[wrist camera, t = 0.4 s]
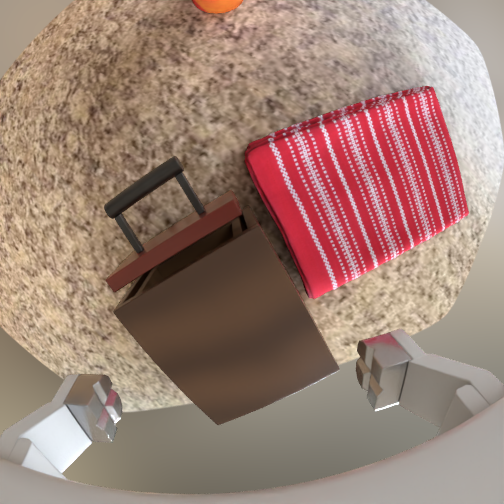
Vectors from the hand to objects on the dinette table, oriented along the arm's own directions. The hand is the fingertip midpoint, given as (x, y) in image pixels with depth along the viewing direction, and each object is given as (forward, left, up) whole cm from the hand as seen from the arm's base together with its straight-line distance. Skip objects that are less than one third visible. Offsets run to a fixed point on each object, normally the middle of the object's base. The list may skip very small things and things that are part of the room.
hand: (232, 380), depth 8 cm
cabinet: (+6, -3, -21) cm, 23 cm away
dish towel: (+3, +16, -22) cm, 27 cm away
